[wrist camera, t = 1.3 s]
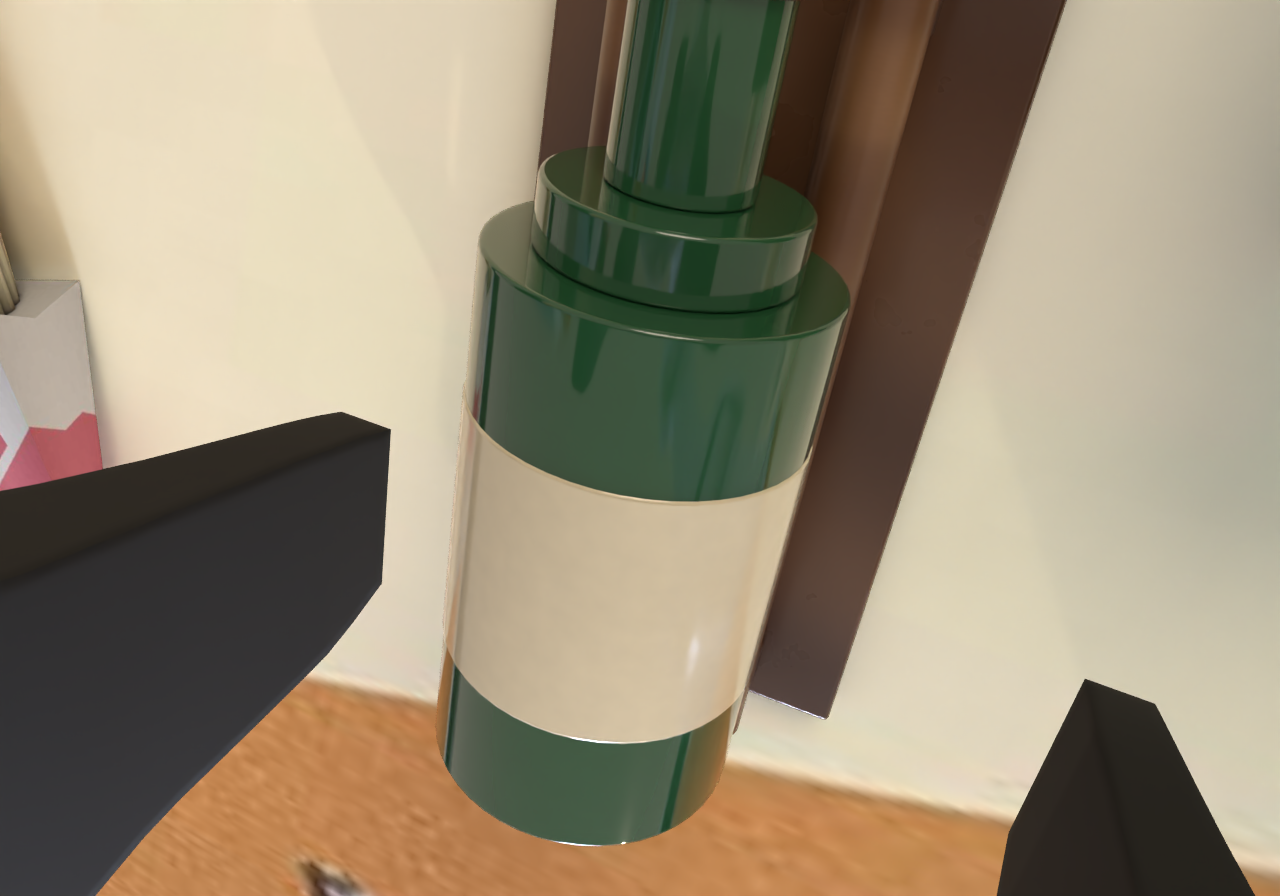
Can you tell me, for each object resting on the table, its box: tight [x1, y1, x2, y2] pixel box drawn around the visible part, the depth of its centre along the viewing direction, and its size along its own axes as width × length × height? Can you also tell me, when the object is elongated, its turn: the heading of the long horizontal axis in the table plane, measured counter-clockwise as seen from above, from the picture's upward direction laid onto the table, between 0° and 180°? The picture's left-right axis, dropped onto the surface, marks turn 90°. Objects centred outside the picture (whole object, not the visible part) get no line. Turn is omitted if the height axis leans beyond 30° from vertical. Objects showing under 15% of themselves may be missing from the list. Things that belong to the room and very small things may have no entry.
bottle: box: [436, 0, 851, 846], centre depth 16 cm, size 14×5×5 cm, turn 171°
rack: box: [534, 0, 1067, 734], centre depth 20 cm, size 15×8×3 cm, turn 171°
